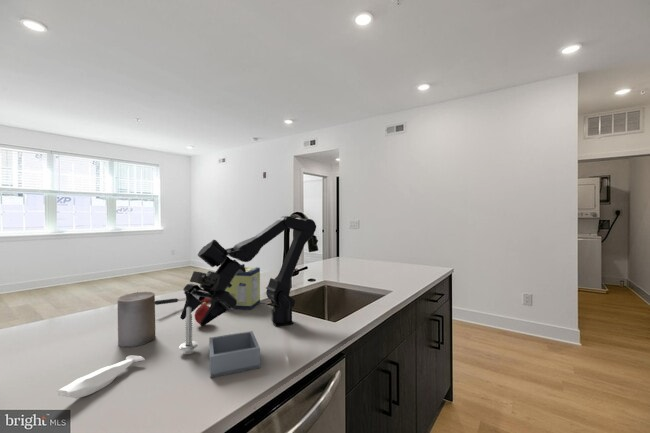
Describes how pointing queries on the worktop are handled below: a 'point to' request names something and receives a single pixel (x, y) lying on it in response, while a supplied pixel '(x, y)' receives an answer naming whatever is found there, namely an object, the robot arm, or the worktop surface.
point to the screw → (188, 335)
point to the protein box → (246, 288)
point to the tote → (233, 353)
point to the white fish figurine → (96, 379)
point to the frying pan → (178, 300)
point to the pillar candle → (136, 319)
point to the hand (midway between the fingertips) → (191, 322)
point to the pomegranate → (201, 312)
